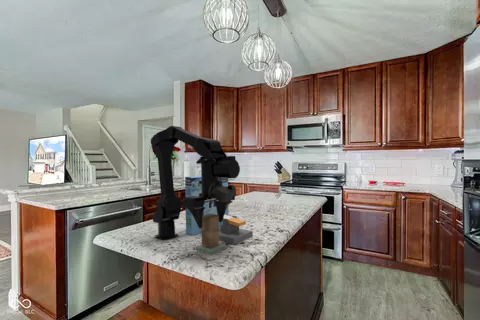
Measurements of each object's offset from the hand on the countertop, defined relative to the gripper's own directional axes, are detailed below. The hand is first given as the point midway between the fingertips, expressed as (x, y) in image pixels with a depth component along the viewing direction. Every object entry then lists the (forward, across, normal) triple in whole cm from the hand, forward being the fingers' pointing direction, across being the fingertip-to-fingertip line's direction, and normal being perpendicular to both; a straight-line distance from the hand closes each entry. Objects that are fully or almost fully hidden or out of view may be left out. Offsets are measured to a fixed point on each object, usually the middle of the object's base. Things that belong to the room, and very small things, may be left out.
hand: (211, 225), depth 78 cm
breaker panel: (+8, +13, +3) cm, 16 cm away
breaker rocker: (+1, +13, +3) cm, 13 cm away
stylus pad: (+8, 0, 0) cm, 8 cm away
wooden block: (+7, 0, 0) cm, 7 cm away
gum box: (+8, +15, +18) cm, 25 cm away
